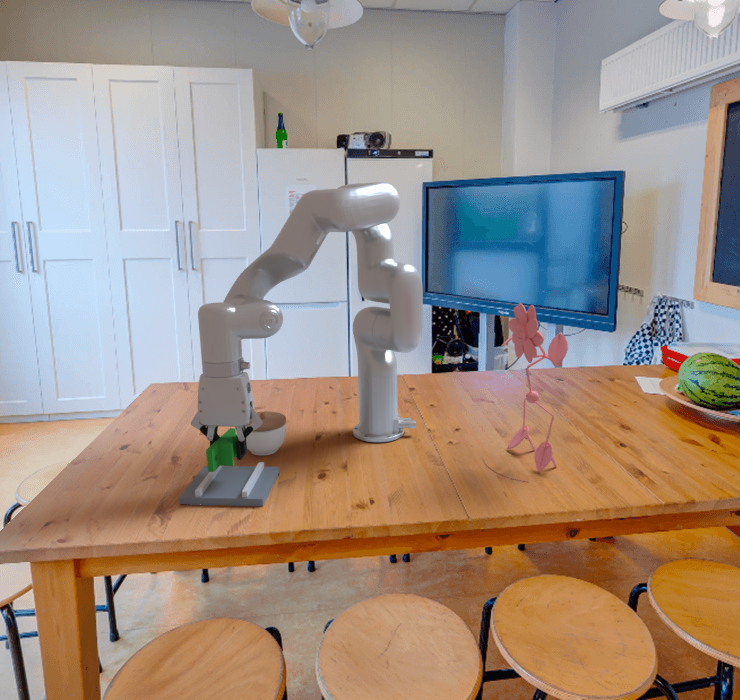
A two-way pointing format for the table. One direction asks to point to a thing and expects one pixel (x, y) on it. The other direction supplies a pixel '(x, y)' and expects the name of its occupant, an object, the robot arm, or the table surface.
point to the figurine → (525, 343)
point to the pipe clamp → (222, 451)
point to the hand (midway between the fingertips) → (229, 456)
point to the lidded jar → (267, 434)
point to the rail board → (231, 486)
